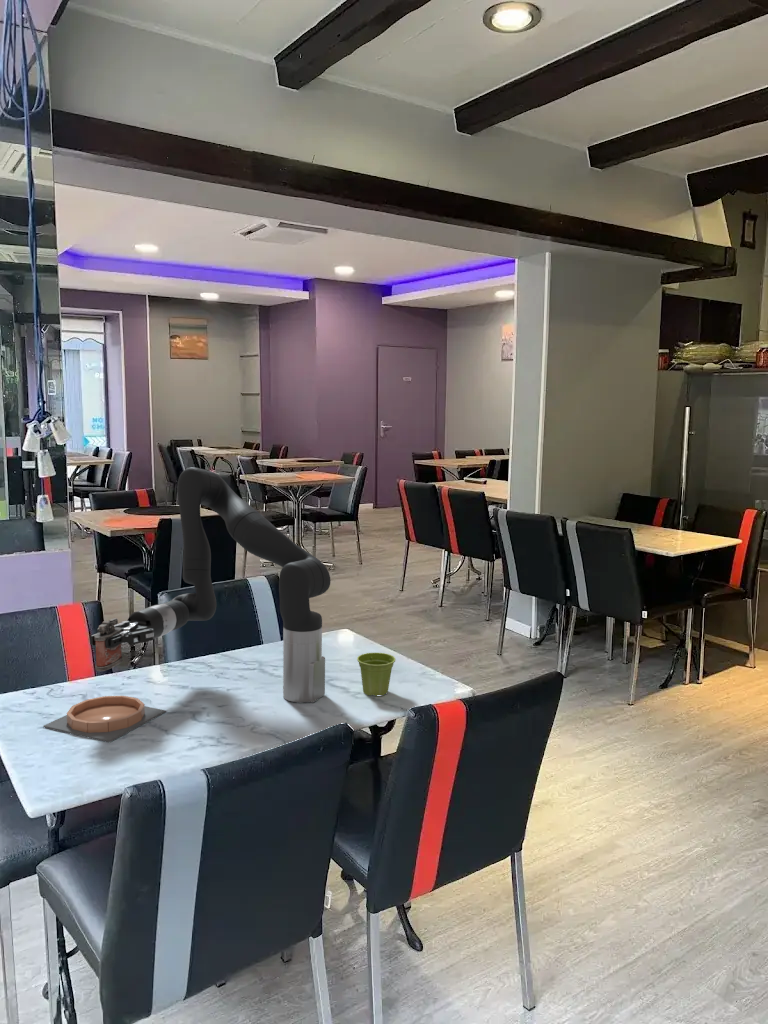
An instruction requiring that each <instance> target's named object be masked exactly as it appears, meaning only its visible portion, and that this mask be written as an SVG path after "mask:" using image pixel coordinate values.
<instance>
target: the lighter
mask: <svg viewBox="0 0 768 1024" xmlns="http://www.w3.org/2000/svg"><path fill="white" fill-rule="evenodd" d="M116 624H119V620H118V618H117V617H114V618H111V619H108V620H104V621H102V622H101V624H100V625H98V628H99V632H100V633H98V632H97V633H98V634H97V633H96V634H97V635H95V636H94V639H95V640H96V645H95V662H96V663H95V671H98V672H104V671H108V670H110V669H113V668H115V667H117V666H118V665H120V664H121V663H122V662H123V656H122V645H121V644H119V645H116V646H114V647H111V648H106V647H105V639H106V638H108V637H111V636H113V635H116V634H120V633H121V632H122V628H120V627H115V626H114V625H116Z"/></svg>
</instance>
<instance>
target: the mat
mask: <svg viewBox="0 0 768 1024" xmlns="http://www.w3.org/2000/svg"><path fill="white" fill-rule="evenodd" d="M165 713H167V710H165V709H161V708H156V707H151V706H146V705H145V714H144V716H143V718H142V720H141V721H139V722H137V723H135V724H134V725H132V726H130V727H128V728H123V729H119V730H115V731H110V732H92V733H87V732H83V731H78V730H74V729H72V728H71V727H70V726H69V725H68V723H67V714H65V715H63V716H62V717H60V718H57V719H55V720H53V721H51V722H48V723H46V724H44V725H43V728H44V727H45V728H44V729H48V728H50V729H49V730H52V729H54V730H53V731H57V730H58V731H57V732H61V731H62V732H61V733H65V732H66V733H67V734H70V733H71V734H72V735H75V736H80V737H84V738H87V737H89V738H88V739H92V738H93V739H92V740H96V739H97V740H98V741H102V742H105V741H106V742H105V743H109V742H110V743H112V742H113V741H115V740H118V739H119V738H121V737H123V736H124V735H127V734H128V733H130V732H133V731H134V730H135V729H138V728H140V727H141V726H143V725H145V724H147V723H149V722H151V721H153V720H154V719H156V718H158V717H160V716H162V715H164V714H165ZM71 734H70V735H71ZM111 741H112V742H111Z"/></svg>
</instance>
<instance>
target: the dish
mask: <svg viewBox="0 0 768 1024" xmlns="http://www.w3.org/2000/svg"><path fill="white" fill-rule="evenodd" d="M145 706H146V705H145V703H144V702H143V701H142V700H140V699H139V698H137V697H132V696H127V695H104V696H99V697H94V698H89V699H85V700H82V701H80V702H78V703H76V704H74V705H72V706H71V707H70V708H69V709H68V711H67V712H66V715H67V723H68V725H69V726H70V727H71V728H72V729H74V730H78V731H83V732H87V733H92V732H110V731H115V730H119V729H123V728H128V727H130V726H132V725H134V724H135V723H137V722H139V721H141V720H142V718H143V716H144V714H145Z"/></svg>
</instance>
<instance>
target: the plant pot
mask: <svg viewBox="0 0 768 1024" xmlns="http://www.w3.org/2000/svg"><path fill="white" fill-rule="evenodd" d="M356 660H357V662H358V666H359V667H360V674H361V675H360V676H361V684H362V692H363V694H365V695H366V694H367V695H366V696H369V695H370V696H374V695H375V697H378V696H377V695H383V696H385V695H384V694H386V693H387V694H388V692H389V687H390V681H391V674H392V669H393V667H394V664H395V662H396V661H397V660H396V657H395V656H394V655H392V654H389V653H385V652H366V653H362V654H360V655H358V657H357V658H356ZM387 694H386V695H387Z"/></svg>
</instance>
